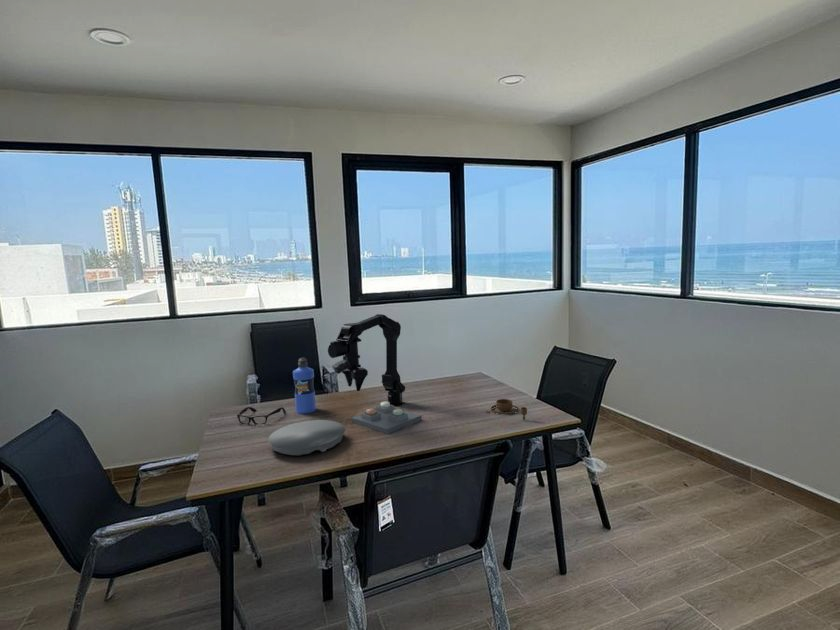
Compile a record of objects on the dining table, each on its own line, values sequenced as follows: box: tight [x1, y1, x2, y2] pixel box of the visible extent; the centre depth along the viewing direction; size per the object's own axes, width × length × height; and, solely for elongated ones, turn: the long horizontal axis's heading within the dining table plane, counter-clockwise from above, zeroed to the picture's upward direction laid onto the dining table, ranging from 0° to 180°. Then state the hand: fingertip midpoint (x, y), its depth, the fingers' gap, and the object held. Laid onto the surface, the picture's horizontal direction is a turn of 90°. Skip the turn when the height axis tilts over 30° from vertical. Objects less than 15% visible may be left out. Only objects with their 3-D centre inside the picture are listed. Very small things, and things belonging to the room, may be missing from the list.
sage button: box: [393, 408, 404, 417], centre depth 187 cm, size 4×4×2 cm
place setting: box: [485, 398, 528, 421], centre depth 195 cm, size 18×20×6 cm
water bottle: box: [292, 357, 317, 415], centre depth 208 cm, size 9×9×25 cm
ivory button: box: [380, 401, 390, 409], centre depth 198 cm, size 4×4×2 cm
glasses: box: [236, 406, 286, 425], centre depth 201 cm, size 16×18×5 cm
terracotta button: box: [365, 407, 376, 416], centre depth 190 cm, size 4×4×2 cm
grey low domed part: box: [268, 419, 346, 456], centre depth 169 cm, size 28×28×4 cm
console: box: [351, 404, 423, 435], centre depth 191 cm, size 20×22×4 cm
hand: (354, 388), depth 194 cm, fingers open, 9 cm apart
